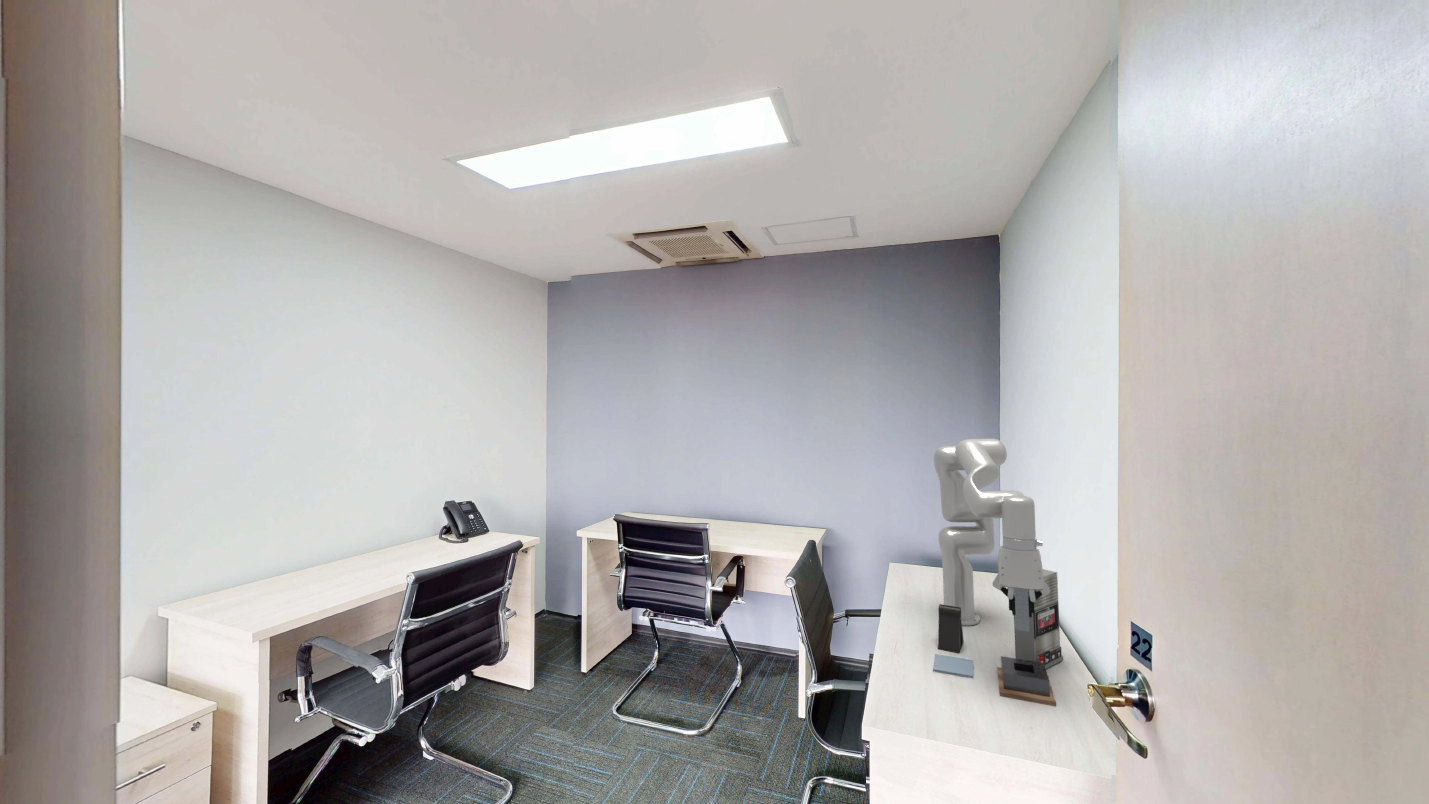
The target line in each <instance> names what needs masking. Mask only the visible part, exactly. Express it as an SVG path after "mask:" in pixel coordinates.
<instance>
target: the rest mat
mask: <svg viewBox="0 0 1429 804" xmlns="http://www.w3.org/2000/svg"><path fill="white" fill-rule="evenodd" d="M933 659H934V661H933V666H932V667H933V668H932V672H934V671H935V672H934V673H941V674H947V675H952V676H956V677H957V676H958V677H964V678H969V679H974V660H973V659H971V658H965V657H963V658H962V657H957V656H952V655H944V654H941V653H940V654H938V653H934V658H933Z"/></svg>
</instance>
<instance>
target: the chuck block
mask: <svg viewBox="0 0 1429 804" xmlns="http://www.w3.org/2000/svg"><path fill="white" fill-rule="evenodd" d="M1000 663H1001V664H1000V665H1001V667H1000V668H1001V669H1002V679H1003V687H1004V689H1007V690H1013V691H1019V692H1024V693H1030V694H1035V695H1041V696H1047V697H1050V688H1049V680H1050V677H1049V675H1048V672H1047V668H1045V664H1044V663H1042V662H1035V661H1029V660H1022V659H1016V658H1015V657H1009V656H1003V655H1001V656H1000ZM1048 677H1049V678H1048Z"/></svg>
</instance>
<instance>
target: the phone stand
mask: <svg viewBox="0 0 1429 804" xmlns="http://www.w3.org/2000/svg"><path fill="white" fill-rule="evenodd" d="M937 633H938V635H937V637H938V638H937V639H938V642H937V649H938V650H941V651H947V652H951V653H956V654H960V653H961V652H962V647H963V645H964V633H963V625H962V620H961V608H960V607H954V606H948V605H944V604H941V603H940V604H938V632H937Z"/></svg>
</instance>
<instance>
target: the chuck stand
mask: <svg viewBox="0 0 1429 804" xmlns="http://www.w3.org/2000/svg"><path fill="white" fill-rule="evenodd" d="M996 671H997V680H998V681H997V683H998V689H999V690H998V691H999V697H1004V698H1009V699H1015V700H1019V701H1025V702H1026V701H1027V702H1031V703H1037V704H1043V705H1046V706H1047V705H1049V706H1053V707H1057V702H1056V699H1055V694H1054V691H1053V688H1052V684H1051V681H1050V677H1049V676H1048V678H1049V688H1050V697H1047V696H1041V695H1035V694H1030V693H1024V692H1019V691H1013V690H1007V689H1004V687H1003V679H1002V669H1001V667H1000V666H997V667H996Z"/></svg>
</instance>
